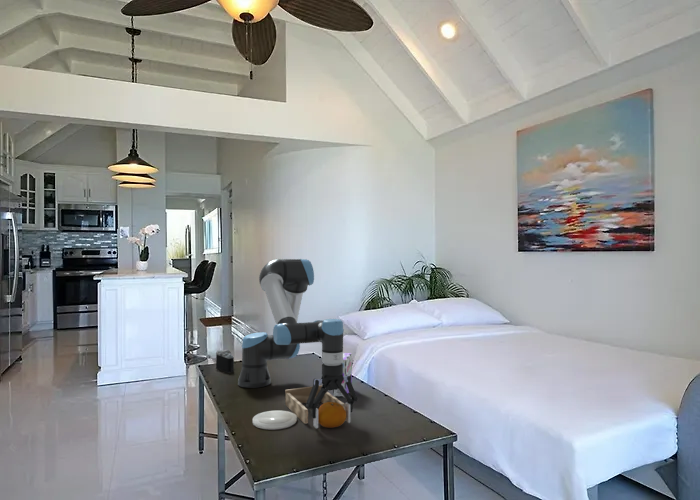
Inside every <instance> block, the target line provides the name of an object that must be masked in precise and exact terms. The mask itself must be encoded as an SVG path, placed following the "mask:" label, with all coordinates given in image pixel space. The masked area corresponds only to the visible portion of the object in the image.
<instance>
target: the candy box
mask: <svg viewBox="0 0 700 500" xmlns="http://www.w3.org/2000/svg"><path fill="white" fill-rule="evenodd" d="M352 357H353V353H351V352H343V362H342V364H343V376H346V375H349V376H350V377H351V383H353V377H352V375H353V373H352V371H353V369H352V368H353V367H352V366H353V358H352ZM341 385H342V386H343V387H344V389H345V391H346V392H347V394H348V395H349V394H350V393H349V390H348V387H347V385H346V382H345V381H344V380H343V382H342V384H341ZM332 395H333V396H334V397H335V398H344V399H345V397H344V396H343V394H342V393H341V392H340V390H339V389H337V390H334V389H333V390H332Z"/></svg>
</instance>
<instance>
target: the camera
mask: <svg viewBox="0 0 700 500" xmlns="http://www.w3.org/2000/svg"><path fill="white" fill-rule="evenodd" d="M234 360H235V359H234V355H232V352H231V351H230V350H229V349H223V350H221V349H220V350H217V351H216V353H215V368H216V369H217V370H218V369H219V370H220V371H223V372H226V373H233V372H234V370H235V369H234V368H235V367H234V366H235V365H234V364H235V361H234Z"/></svg>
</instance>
